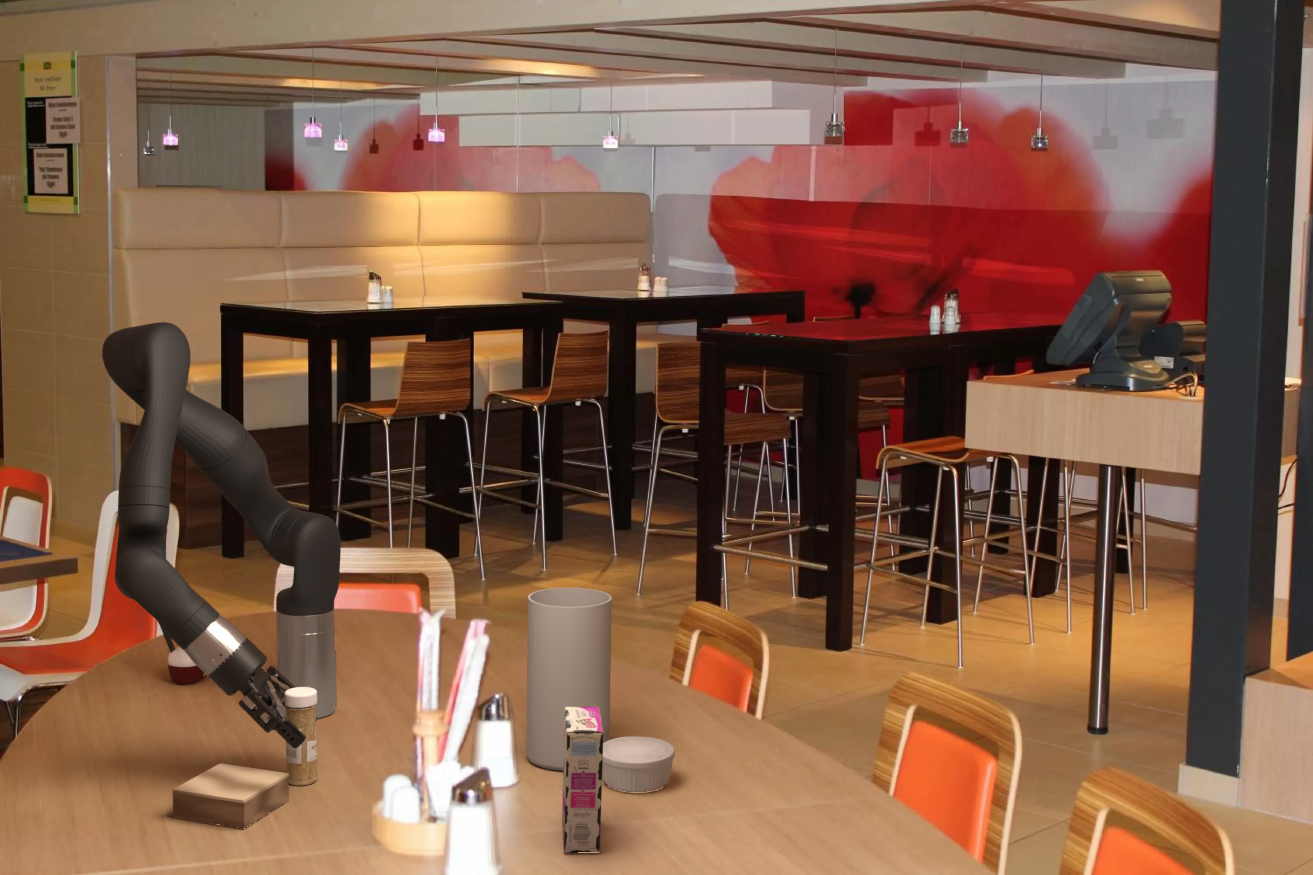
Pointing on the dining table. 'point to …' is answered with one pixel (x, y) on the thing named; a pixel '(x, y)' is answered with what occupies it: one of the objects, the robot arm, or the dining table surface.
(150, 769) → the dining table surface
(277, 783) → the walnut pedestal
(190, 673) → the cocoa
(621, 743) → the ramekin
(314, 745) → the spice jar
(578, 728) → the candy bar box
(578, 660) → the cylinder vase
